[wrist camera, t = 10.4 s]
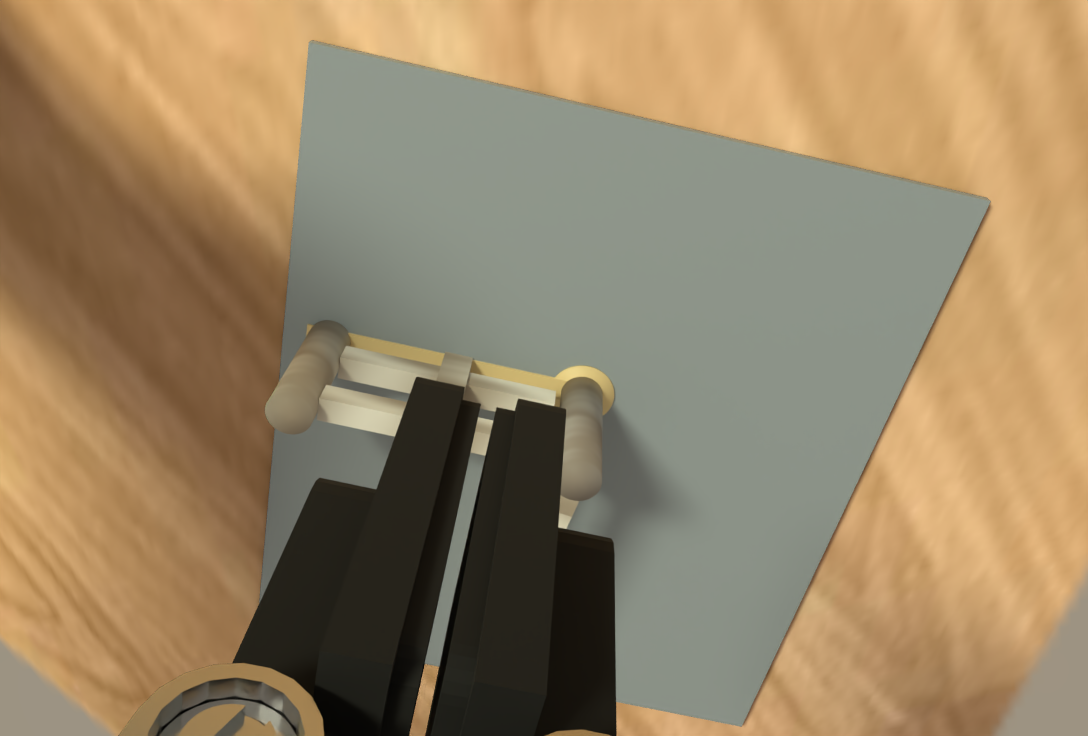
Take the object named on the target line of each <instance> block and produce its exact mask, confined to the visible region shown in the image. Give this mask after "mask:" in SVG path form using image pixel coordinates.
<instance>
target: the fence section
mask: <svg viewBox="0 0 1088 736" xmlns="http://www.w3.org/2000/svg"><path fill="white" fill-rule="evenodd" d="M348 333H349V332H348V331H347V329H346V328H345V327H344V326H343V325H341V324H340V323H338V322H335V321H331V320H323V321H320V322H317V323H316V324H315V325H314V326H313V327H312V328H311V330H310V331H309V333H308V335H307V336H306V338H305V340H304V341H303V343H302V345H301V346H300V348H299V350H298V351H297V353H296V355H295V356H294V358H293V360H292V361H291V363H290V365H289V366H288V368H287V370H286V371H285V373H284V375H283V376H282V378H281V380H280V381H279V383H278V385H277V386H276V388H275V390H274V391H273V393H272V395H271V396H270V398H269V400H268V401H267V403H266V406H265V415H266V418H267V420H268V422H269V423H270V424H271V425H272V426H273V427H274V428H275V429H277V430H278V431H280V432H283V433H286V434H300V433H303V432H305V431H306V430H307V429H309V427H310V426H311V424H312V422H313V420H314V418H315V416H316V414H317V412H318V414H317V420H319V421H323V422H328V423H333V424H338V425H342V426H347V427H352V428H357V429H361V430H366V431H371V432H375V433H380V434H385V435H390V436H394V437H395V435H396V432H397V429H398V426H399V424H400V421H401V418H402V415H403V412H404V409H405V406H406V404H407V402H404V401H400V400H395V399H390V398H386V397H381V396H376V395H372V394H367V393H362V392H358V391H353V390H348V389H344V388H339V387H334V386H331V384H332V382H333V380H334V378H335V376H336V374H337V372H338V378H340V379H344V380H349V381H354V382H358V383H363V384H368V385H372V386H377V387H382V388H386V389H391V390H396V391H400V392H405V393H410V392H411V389H412V387H413V384H414V381H415V379H416V377H422V378H426V379H431V380H435V381H440V382H445V383H449V384H454V385H459V386H463V387H465V390H464V395H463V400H466V401H471V402H476V403H480V404H481V406H480V409H484V410H489V411H494V412H495V411H496V408H497V407H499V408H504V409H508V410H513V411H515V408H516V404H517V401H518V398H519V399H524V400H528V401H533V402H538V403H542V404H547V405H552V406H554V405H555V397H556V391H553V390H549V389H544V388H540V387H535V386H530V385H526V384H521V383H516V382H512V381H507V380H503V379H498V378H493V377H489V376H484V375H479V374H475V373H470V370H471V365H472V360H473V357H468V356H463V355H459V354H454V353H450V352H445V354H444V358H443V361H442V364H441V366H438V365H433V364H429V363H424V362H419V361H415V360H410V359H405V358H401V357H396V356H392V355H387V354H382V353H378V352H373V351H368V350H364V349H359V348H355V347H350V344H351V342H350V337H349V334H348ZM338 370H339V371H338ZM560 407H561V408H565V409H566V425H565V439H564V453H563V467H562V481H561V495H562V496H563V497H565V498H567V499H569V500H573V501H584V500H588V499H590V498H592V497H594V496H595V495H596V494H597V493H598V492H599V490H600V489H601V486H602V419H603V393H602V389H601V387H600V385H599V384H598V383H597V382H596V381H594V380H593V379H591V378H588V377H575V378H572V379H570V380H569V381H567V382H566V383H565V384H564V386H563V388H562V390H561V399H560ZM492 424H493V420H489V419H484V418H479V417H478V420H477V425H476V430H475V434H474V439H473V443H472V448H471V453H475V454H479V455H484V456H485V455H486V451H487V447H488V442H489V438H490V433H491V429H492Z"/></svg>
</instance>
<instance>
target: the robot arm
mask: <svg viewBox="0 0 1088 736" xmlns="http://www.w3.org/2000/svg"><path fill="white" fill-rule="evenodd" d="M464 390H465V387H463V386H459V385H454V384H449V383H445V382H440V381H435V380H431V379H426V378H422V377H416V379H415V381H414V384H413V387H412V389H411V392H410V395H409V398H408V401H407V404H406V406H405V409H404V412H403V415H402V418H401V421H400V424H399V426H398V429H397V432H396V435H395V438H394V441H393V443H392V446H391V449H390V452H389V455H388V458H387V460H386V463H385V466H384V469H383V472H382V475H381V477H380V480H379V483H378V486H377V489H372V488H367V487H363V486H358V485H353V484H348V483H343V482H339V481H334V480H329V479H324V478H318V479H317V480H316V481H315V483H314V485H313V487H312V489H311V491H310V493H309V495H308V497H307V499H306V502H305V504H304V506H303V508H302V510H301V513H300V515H299V517H298V519H297V522H296V524H295V526H294V528H293V530H292V533H291V535H290V537H289V539H288V541H287V544H286V546H285V548H284V550H283V552H282V555H281V557H280V559H279V561H278V564H277V566H276V568H275V570H274V572H273V575H272V577H271V579H270V581H269V583H268V586H267V588H266V590H265V592H264V595H263V597H262V599H261V601H260V603H259V606H258V608H257V610H256V612H255V614H254V617H253V619H252V621H251V623H250V625H249V628H248V630H247V632H246V634H245V637H244V639H243V641H242V643H241V645H240V648H239V650H238V652H237V654H236V656H235V659H234V661H233V663H232V664H215V665H211V666H207V667H204V668H201V669H197V670H194V671H190V672H187V673H184V674H183V675H181V676H179V677H177V678H176V679H174V680H172V681H170V682H169V683H167V684H165V685H163V686H162V687H160V688H159V689H158V690H157V691H156V692H155V693H154V694H153V695H152V696H151V697H150V698H149V699H148V700H147V701H146V702H145V703H144V704H143V705H142V706H141V707H140V708H139V709H138V710H137V712H136V713H135V714H134V716H133V717H132V718H131V720H130V721H129V722H128V724H127V725H126V726H125V728H124V729H123V730H122V732H121V733H120V734H119V736H409V733H410V728H411V723H412V719H413V714H414V710H415V705H416V701H417V696H418V692H419V687H420V683H421V678H422V673H423V669H424V664H425V660H426V655H427V651H428V646H429V642H430V637H431V633H432V628H433V623H434V619H435V614H436V610H437V605H438V601H439V596H440V591H441V587H442V582H443V578H444V573H445V568H446V564H447V559H448V554H449V550H450V545H451V541H452V536H453V531H454V527H455V522H456V517H457V513H458V508H459V504H460V499H461V494H462V490H463V485H464V480H465V476H466V471H467V467H468V462H469V457H470V453H471V448H472V443H473V439H474V434H475V430H476V425H477V420H478V416H479V411H480V406H481V404H480V403H476V402H471V401H466V400H463V395H464ZM565 425H566V409H565V408H561V407H556V406H552V405H547V404H542V403H538V402H533V401H528V400H524V399H519V398H518V401H517V404H516V408H515V411H513V410H508V409H504V408H499V407H497V408H496V411H495V416H494V420H493V424H492V429H491V433H490V438H489V442H488V447H487V451H486V455H485V460H484V464H483V469H482V473H481V477H480V482H479V486H478V491H477V495H476V500H475V504H474V508H473V513H472V517H471V522H470V526H469V530H468V535H467V539H466V544H465V548H464V553H463V557H462V561H461V566H460V570H459V575H458V579H457V584H456V588H455V593H454V597H453V602H452V607H451V611H450V616H449V621H448V626H447V631H446V636H445V641H444V646H443V651H442V656H441V661H440V666H439V671H438V676H437V681H436V685H435V690H434V695H433V700H432V705H431V710H430V715H429V720H428V725H427V730H426V735H425V736H616V646H615V553H614V542H613V540H612V538H607V537H603V536H598V535H593V534H588V533H583V532H579V531H574V530H569V529H564V528H559V527H558V524H559V510H560V496H561V481H562V467H563V453H564V439H565Z"/></svg>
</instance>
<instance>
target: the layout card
mask: <svg viewBox="0 0 1088 736" xmlns="http://www.w3.org/2000/svg"><path fill="white" fill-rule="evenodd" d="M990 202H991V201H990V200H989V199H988V198H986V197H981V196H977V195H973V194H968V193H964V192H960V191H956V190H951V189H947V188H943V187H938V186H934V185H930V184H926V183H921V182H917V181H913V180H908V179H904V178H900V177H896V176H891V175H887V174H883V173H879V172H874V171H870V170H866V169H861V168H857V167H853V166H849V165H844V164H840V163H836V162H831V161H827V160H823V159H819V158H814V157H810V156H806V155H801V154H797V153H793V152H789V151H784V150H780V149H776V148H772V147H767V146H763V145H759V144H754V143H750V142H746V141H742V140H737V139H733V138H729V137H724V136H720V135H716V134H712V133H707V132H703V131H699V130H694V129H690V128H686V127H682V126H677V125H673V124H669V123H665V122H660V121H656V120H652V119H647V118H643V117H639V116H635V115H630V114H626V113H622V112H617V111H613V110H609V109H605V108H600V107H596V106H592V105H587V104H583V103H579V102H575V101H570V100H566V99H562V98H558V97H553V96H549V95H545V94H540V93H536V92H532V91H528V90H523V89H519V88H515V87H510V86H506V85H502V84H498V83H493V82H489V81H485V80H480V79H476V78H472V77H468V76H463V75H459V74H455V73H451V72H446V71H442V70H438V69H433V68H429V67H425V66H421V65H416V64H412V63H408V62H403V61H399V60H395V59H391V58H386V57H382V56H378V55H373V54H369V53H365V52H361V51H356V50H352V49H348V48H344V47H339V46H335V45H331V44H326V43H322V42H318V41H314V40H311V41H310V42H309V48H308V59H307V70H306V81H305V93H304V104H303V115H302V127H301V138H300V149H299V160H298V172H297V183H296V194H295V205H294V217H293V228H292V239H291V251H290V262H289V273H288V284H287V296H286V307H285V318H284V330H283V341H282V352H281V363H280V375H279V381H280V380H281V378H282V376H283V375H284V373H285V371H286V370H287V368H288V366H289V365H290V363H291V361H292V360H293V358H294V356H295V355H296V353H297V351H298V350H299V348H300V346H301V345H302V343H303V341H304V340H305V338H306V336H307V335H308V333H309V331H310V330H311V328H312V327H313V326H314V325H315V324H316V323H317V322H320V321H323V320H331V321H335V322H338V323H340V324H341V325H343V326H344V327H345V328H346V329H347V331H348V332H349V333H348V334H349V337H350V342H351V344H350V347H355V348H359V349H364V350H368V351H373V352H378V353H382V354H387V355H392V356H396V357H401V358H405V359H410V360H415V361H419V362H424V363H429V364H433V365H438V366H441V364H442V361H443V358H444V354H445V352H450V353H454V354H459V355H463V356H468V357H473V360H472V365H471V370H470V373H475V374H479V375H484V376H489V377H493V378H498V379H503V380H507V381H512V382H516V383H521V384H526V385H530V386H535V387H540V388H544V389H549V390H553V391H556V397H555V405H554V406H556V407H560V399H561V390H562V388H563V386H564V384H565V383H566V382H567V381H569V380H570V379H572V378H575V377H588V378H591V379H593V380H594V381H596V382H597V383H598V384H599V385H600V387H601V389H602V393H603V419H602V486H601V489H600V490H599V492H598V493H597V494H596V495H595V496H594V497H592V498H590V499H588V500H584V501H579V503H578V505H577V507H576V509H575V511H574V513H573V516H572V518H571V520H570V522H569V524H568V526H567V529H569V530H574V531H579V532H583V533H588V534H593V535H598V536H603V537H607V538H612V540H613V542H614V553H615V646H616V702H620V703H625V704H630V705H635V706H640V707H645V708H650V709H655V710H660V711H665V712H670V713H675V714H680V715H686V716H691V717H696V718H701V719H706V720H711V721H716V722H721V723H726V724H731V725H736V726H741V727H742V725H743V722H744V720H745V718H746V716H747V714H748V712H749V710H750V708H751V706H752V704H753V701H754V699H755V697H756V695H757V693H758V691H759V689H760V687H761V685H762V682H763V680H764V678H765V676H766V674H767V672H768V670H769V668H770V666H771V663H772V661H773V659H774V657H775V655H776V653H777V651H778V649H779V647H780V644H781V642H782V640H783V638H784V636H785V634H786V632H787V630H788V628H789V626H790V623H791V621H792V619H793V617H794V615H795V613H796V611H797V609H798V607H799V604H800V602H801V600H802V598H803V596H804V594H805V592H806V590H807V588H808V585H809V583H810V581H811V579H812V577H813V575H814V573H815V571H816V569H817V567H818V564H819V562H820V560H821V558H822V556H823V554H824V552H825V550H826V548H827V545H828V543H829V541H830V539H831V537H832V535H833V533H834V531H835V529H836V526H837V524H838V522H839V520H840V518H841V516H842V514H843V512H844V510H845V507H846V505H847V503H848V501H849V499H850V497H851V495H852V493H853V491H854V489H855V486H856V484H857V482H858V480H859V478H860V476H861V474H862V472H863V470H864V467H865V465H866V463H867V461H868V459H869V457H870V455H871V453H872V451H873V448H874V446H875V444H876V442H877V440H878V438H879V436H880V434H881V432H882V430H883V427H884V425H885V423H886V421H887V419H888V417H889V415H890V413H891V411H892V408H893V406H894V404H895V402H896V400H897V398H898V396H899V394H900V392H901V389H902V387H903V385H904V383H905V381H906V379H907V377H908V375H909V373H910V370H911V368H912V366H913V364H914V362H915V360H916V358H917V356H918V354H919V352H920V349H921V347H922V345H923V343H924V341H925V339H926V337H927V335H928V333H929V330H930V328H931V326H932V324H933V322H934V320H935V318H936V316H937V314H938V311H939V309H940V307H941V305H942V303H943V301H944V299H945V297H946V295H947V293H948V290H949V288H950V286H951V284H952V282H953V280H954V278H955V276H956V274H957V271H958V269H959V267H960V265H961V263H962V261H963V259H964V257H965V255H966V252H967V250H968V248H969V246H970V244H971V242H972V240H973V238H974V236H975V234H976V231H977V229H978V227H979V225H980V223H981V221H982V219H983V217H984V215H985V212H986V210H987V208H988V206H989V204H990ZM338 371H339V370H338ZM331 386H334V387H339V388H344V389H348V390H353V391H358V392H362V393H367V394H372V395H376V396H381V397H386V398H390V399H395V400H400V401H404V402H407V401H408V398H409V395H410V393H405V392H400V391H396V390H391V389H386V388H382V387H377V386H372V385H368V384H363V383H358V382H354V381H349V380H344V379H340V378H338V372H337V374H336V376H335V378H334V380H333V382H332V384H331ZM317 414H318V412H317ZM317 414H316V416H315V418H314V420H313V422H312V424H311V426H310V427H309V429H307V430H306V431H305V432H303V433H300V434H286V433H283V432H280V431H278V430H277V429H275V431H274V442H273V454H272V465H271V476H270V487H269V499H268V510H267V521H266V533H265V544H264V555H263V566H262V578H261V589H260V600H259V603H260V601H261V599H262V597H263V595H264V592H265V590H266V588H267V586H268V583H269V581H270V579H271V577H272V575H273V572H274V570H275V568H276V566H277V564H278V561H279V559H280V557H281V555H282V552H283V550H284V548H285V546H286V544H287V541H288V539H289V537H290V535H291V533H292V530H293V528H294V526H295V524H296V522H297V519H298V517H299V515H300V513H301V510H302V508H303V506H304V504H305V502H306V499H307V497H308V495H309V493H310V491H311V489H312V487H313V485H314V483H315V481H316V480H317V479H318V478H324V479H329V480H334V481H339V482H343V483H348V484H353V485H358V486H363V487H367V488H372V489H377V486H378V483H379V480H380V477H381V475H382V472H383V469H384V466H385V463H386V460H387V458H388V455H389V452H390V449H391V446H392V443H393V441H394V438H395V437H394V436H390V435H385V434H380V433H375V432H371V431H366V430H361V429H357V428H352V427H347V426H342V425H338V424H333V423H328V422H323V421H319V420H317ZM494 416H495V412H494V411H489V410H484V409H480V411H479V416H478V417H479V418H484V419H489V420H494ZM484 460H485V456H484V455H479V454H475V453H470V457H469V462H468V467H467V471H466V476H465V480H464V485H463V490H462V494H461V499H460V504H459V508H458V513H457V517H456V522H455V527H454V531H453V536H452V541H451V545H450V550H449V554H448V559H447V564H446V568H445V573H444V578H443V582H442V587H441V591H440V596H439V601H438V605H437V610H436V614H435V619H434V623H433V628H432V633H431V637H430V642H429V646H428V651H427V655H426V660H425V664H429V665H434V666H440V661H441V656H442V651H443V646H444V641H445V636H446V631H447V626H448V621H449V616H450V611H451V607H452V602H453V597H454V593H455V588H456V584H457V579H458V575H459V570H460V566H461V561H462V557H463V553H464V548H465V544H466V539H467V535H468V530H469V526H470V522H471V517H472V513H473V508H474V504H475V500H476V495H477V491H478V486H479V482H480V477H481V473H482V469H483V464H484Z"/></svg>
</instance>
